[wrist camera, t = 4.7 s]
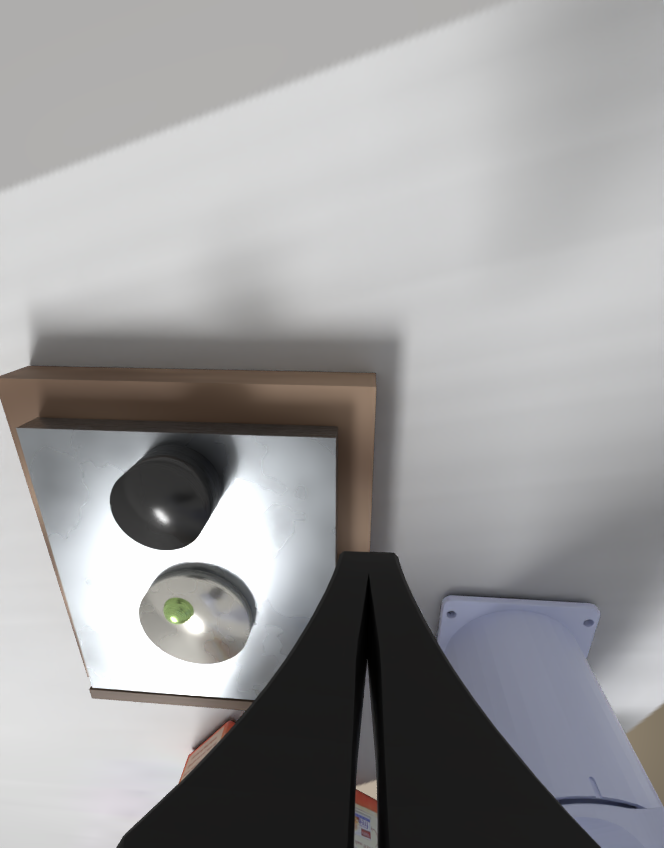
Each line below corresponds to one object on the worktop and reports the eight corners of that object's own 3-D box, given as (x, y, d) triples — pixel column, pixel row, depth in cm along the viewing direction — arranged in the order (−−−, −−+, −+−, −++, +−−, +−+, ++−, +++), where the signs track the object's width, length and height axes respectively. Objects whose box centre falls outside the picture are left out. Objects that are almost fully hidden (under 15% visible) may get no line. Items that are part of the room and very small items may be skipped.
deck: (336, 684, 23) (331, 748, 20) (105, 667, 24) (67, 725, 21) (337, 426, 18) (331, 461, 15) (36, 417, 19) (-27, 448, 16)
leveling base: (364, 665, 26) (363, 719, 23) (106, 647, 27) (74, 696, 24) (375, 373, 19) (376, 397, 16) (28, 365, 20) (-31, 386, 17)
